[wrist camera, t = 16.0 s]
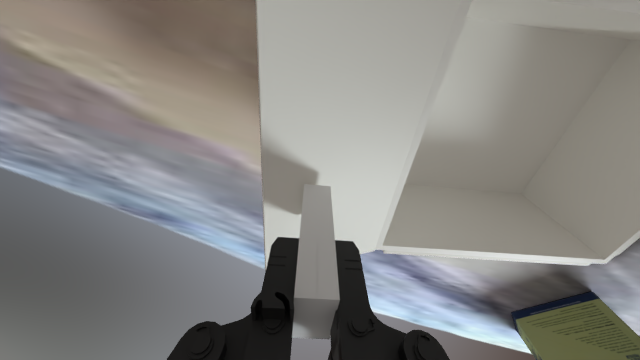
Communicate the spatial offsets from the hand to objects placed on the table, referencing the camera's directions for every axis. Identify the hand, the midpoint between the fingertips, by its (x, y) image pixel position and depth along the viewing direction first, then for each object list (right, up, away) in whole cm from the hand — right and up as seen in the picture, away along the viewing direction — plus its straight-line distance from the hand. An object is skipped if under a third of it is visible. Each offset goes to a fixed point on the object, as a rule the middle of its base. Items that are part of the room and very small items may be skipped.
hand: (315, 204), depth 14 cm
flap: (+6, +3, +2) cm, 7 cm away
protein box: (+51, -28, +37) cm, 69 cm away
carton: (+18, +9, +13) cm, 24 cm away
